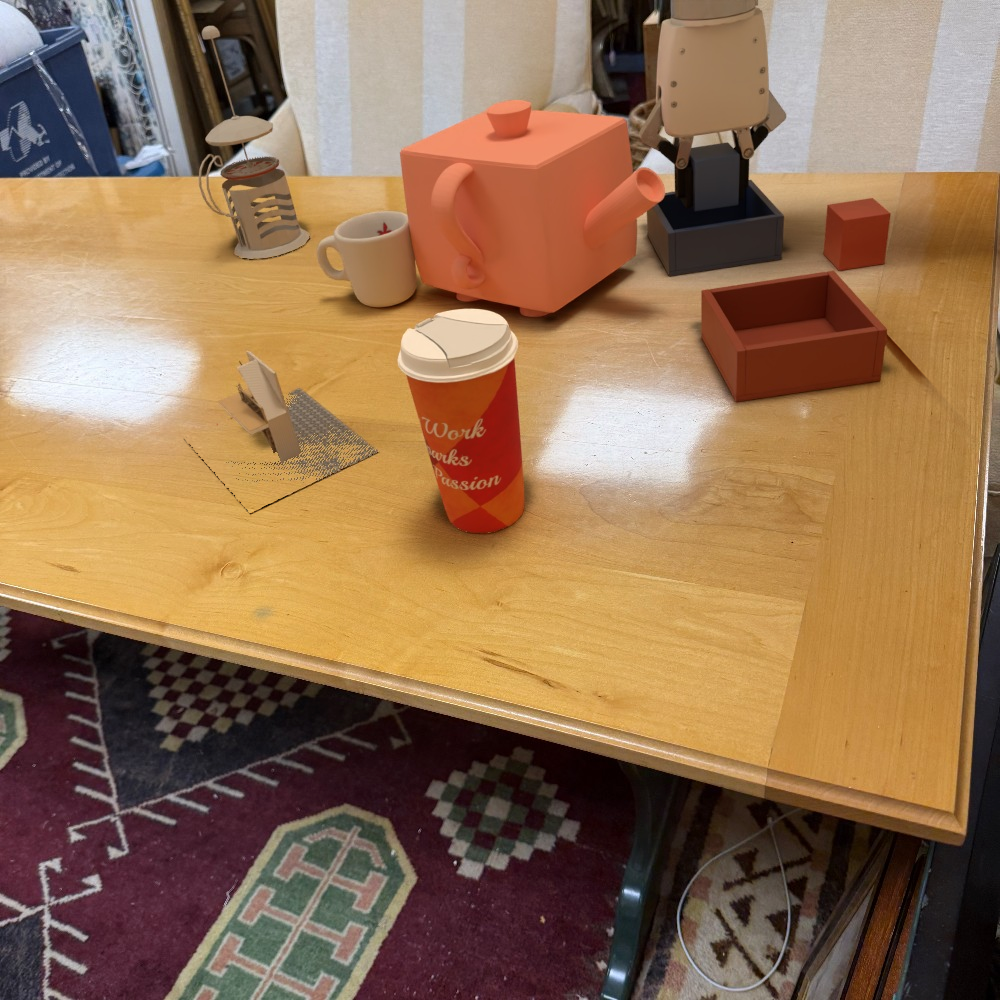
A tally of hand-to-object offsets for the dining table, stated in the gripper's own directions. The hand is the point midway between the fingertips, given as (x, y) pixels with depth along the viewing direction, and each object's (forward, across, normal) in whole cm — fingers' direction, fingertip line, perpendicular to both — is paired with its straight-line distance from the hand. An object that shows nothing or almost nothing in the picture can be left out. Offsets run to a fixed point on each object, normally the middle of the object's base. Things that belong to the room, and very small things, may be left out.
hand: (711, 197), depth 93 cm
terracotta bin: (+5, 0, +25) cm, 26 cm away
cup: (+6, +36, 0) cm, 36 cm away
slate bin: (+5, 0, 0) cm, 5 cm away
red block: (+5, -12, +8) cm, 15 cm away
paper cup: (+5, +26, +40) cm, 48 cm away
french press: (+6, +51, -21) cm, 55 cm away
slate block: (0, 0, 0) cm, 0 cm away
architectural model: (+6, +43, +27) cm, 51 cm away
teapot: (+5, +17, +5) cm, 18 cm away
